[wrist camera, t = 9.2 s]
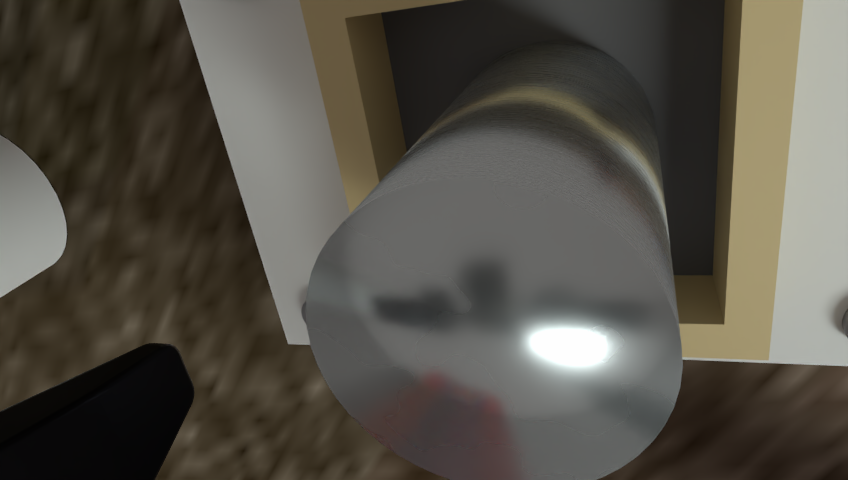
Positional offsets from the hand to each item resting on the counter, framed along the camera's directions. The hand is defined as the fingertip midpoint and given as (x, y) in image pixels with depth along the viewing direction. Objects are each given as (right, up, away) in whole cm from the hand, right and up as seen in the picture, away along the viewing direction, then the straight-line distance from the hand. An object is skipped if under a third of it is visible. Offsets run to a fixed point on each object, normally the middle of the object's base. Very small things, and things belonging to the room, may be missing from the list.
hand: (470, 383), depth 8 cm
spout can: (+3, +4, +8) cm, 10 cm away
